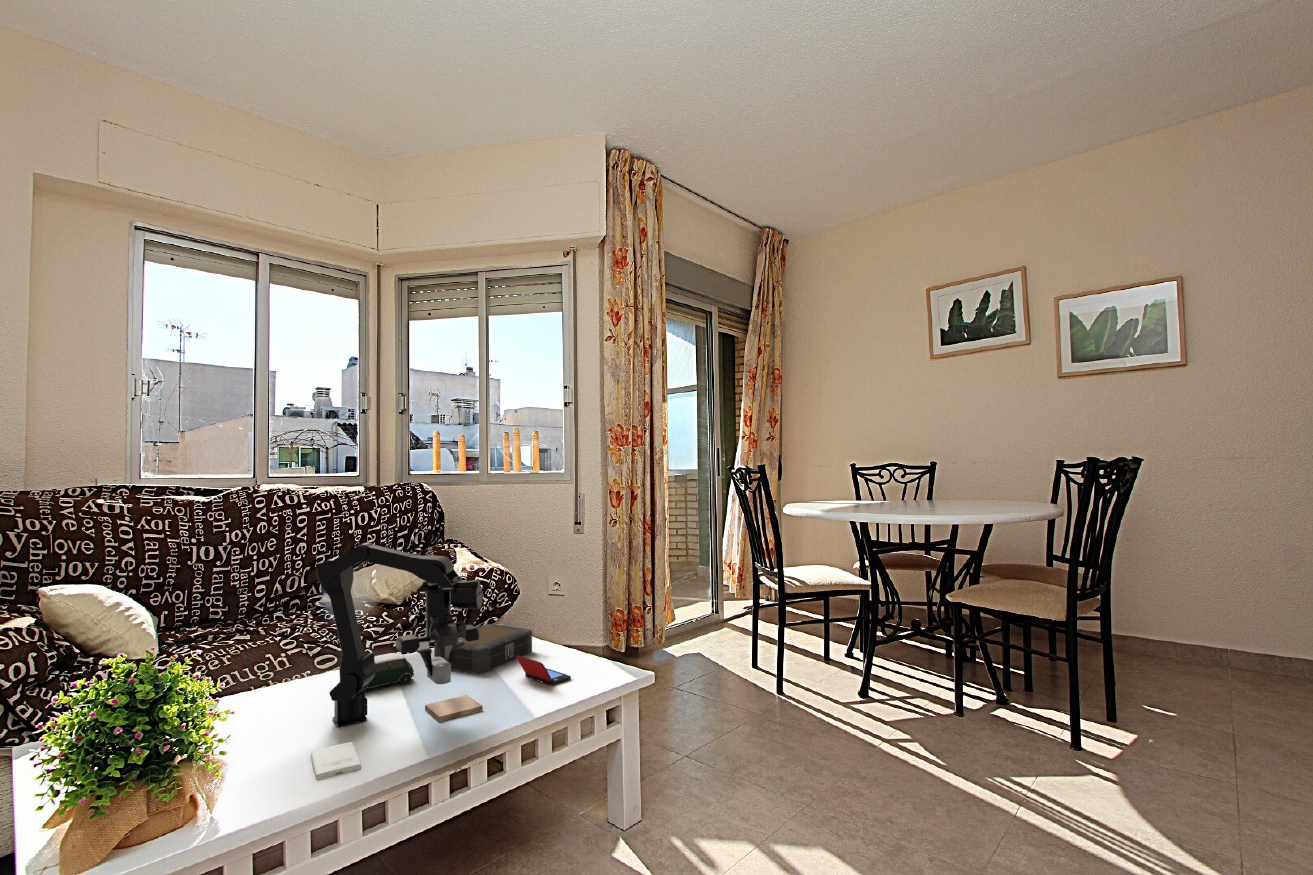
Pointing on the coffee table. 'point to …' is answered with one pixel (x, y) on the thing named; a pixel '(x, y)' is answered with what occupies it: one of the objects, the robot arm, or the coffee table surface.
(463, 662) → the cash box
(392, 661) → the miniature car
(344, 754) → the external hard drive
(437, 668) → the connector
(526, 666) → the handheld game console
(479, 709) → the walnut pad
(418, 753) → the coffee table surface
